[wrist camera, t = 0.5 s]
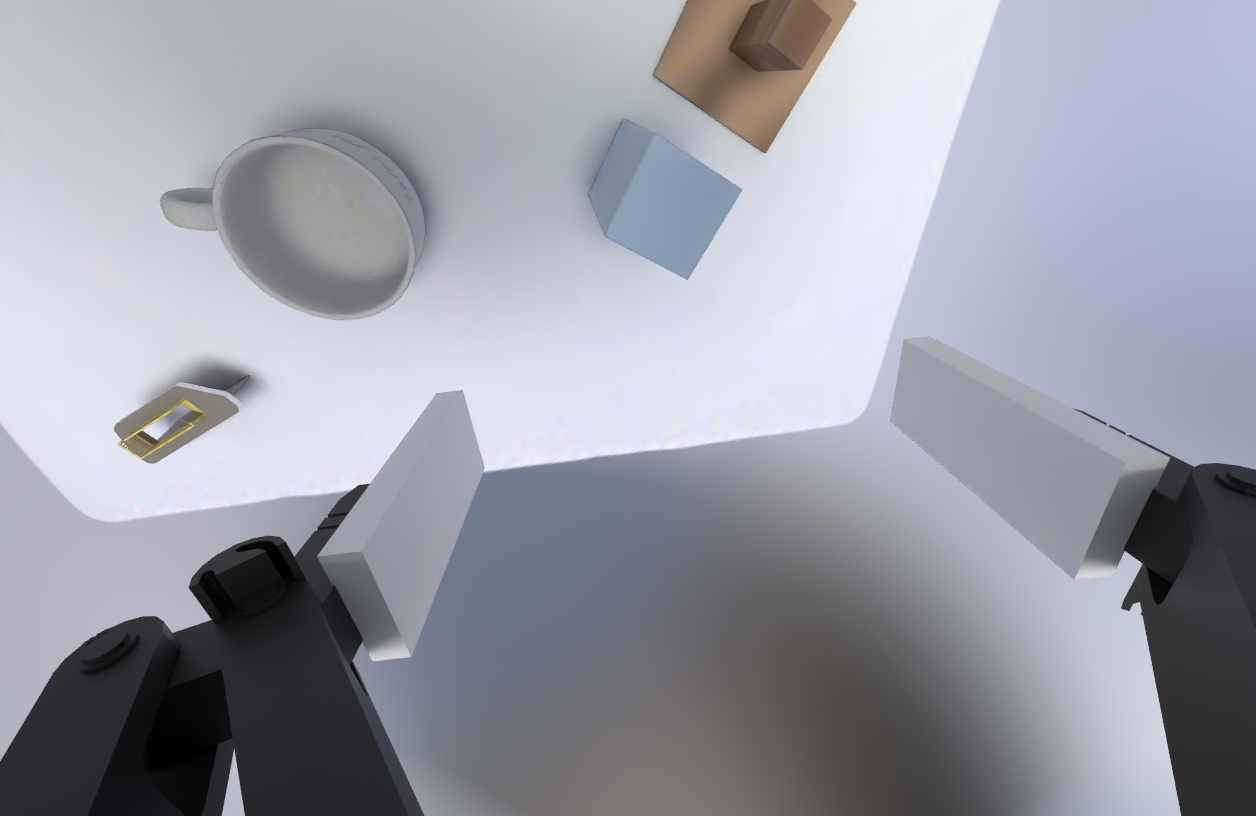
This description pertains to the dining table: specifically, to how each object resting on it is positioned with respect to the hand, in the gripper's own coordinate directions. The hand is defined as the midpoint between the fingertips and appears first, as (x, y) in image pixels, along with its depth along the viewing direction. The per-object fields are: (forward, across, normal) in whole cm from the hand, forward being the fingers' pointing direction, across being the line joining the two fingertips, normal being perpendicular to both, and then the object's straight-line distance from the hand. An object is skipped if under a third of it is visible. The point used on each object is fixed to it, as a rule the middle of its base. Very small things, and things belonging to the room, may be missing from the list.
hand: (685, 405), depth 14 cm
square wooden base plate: (+27, +10, +13) cm, 32 cm away
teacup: (+26, -21, +7) cm, 34 cm away
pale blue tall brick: (+27, +1, +6) cm, 28 cm away
